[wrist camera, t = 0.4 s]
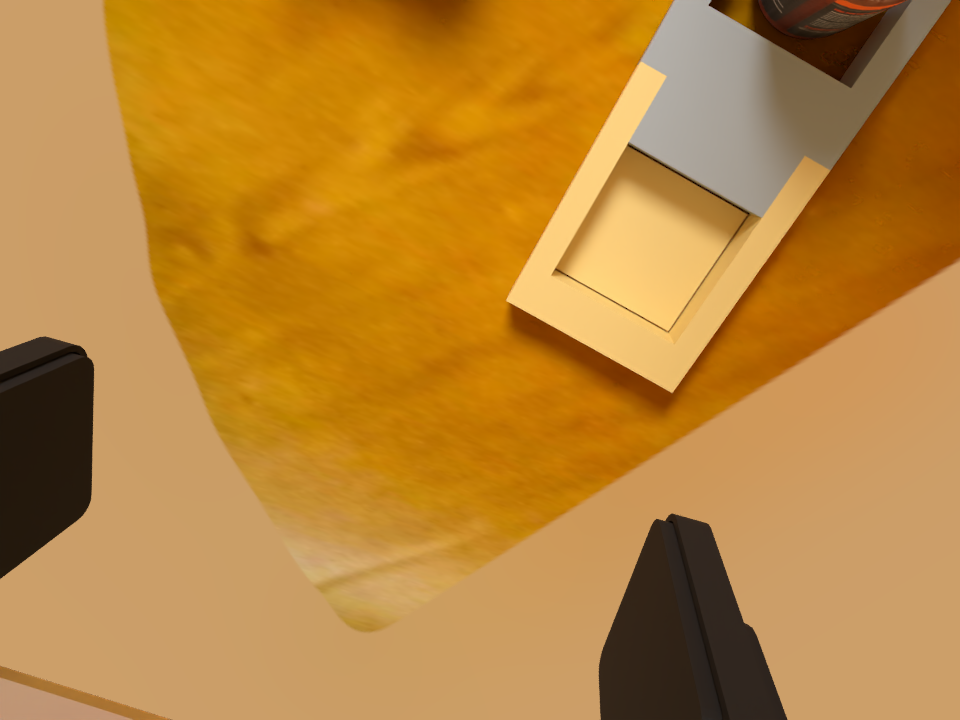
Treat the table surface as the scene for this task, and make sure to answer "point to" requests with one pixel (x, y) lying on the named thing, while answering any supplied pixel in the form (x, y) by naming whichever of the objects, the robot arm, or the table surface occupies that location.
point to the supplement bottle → (820, 15)
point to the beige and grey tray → (699, 182)
